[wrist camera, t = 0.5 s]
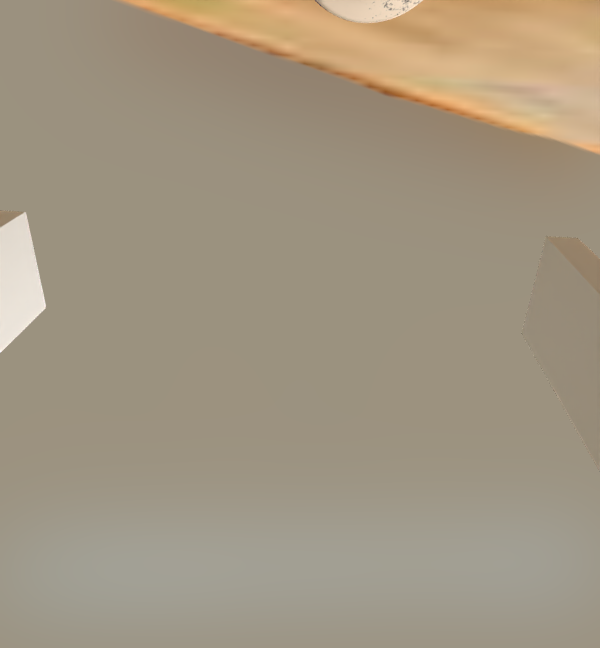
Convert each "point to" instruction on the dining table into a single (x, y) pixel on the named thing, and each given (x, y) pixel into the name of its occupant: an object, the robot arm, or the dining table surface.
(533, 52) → the dining table surface
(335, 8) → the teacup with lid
